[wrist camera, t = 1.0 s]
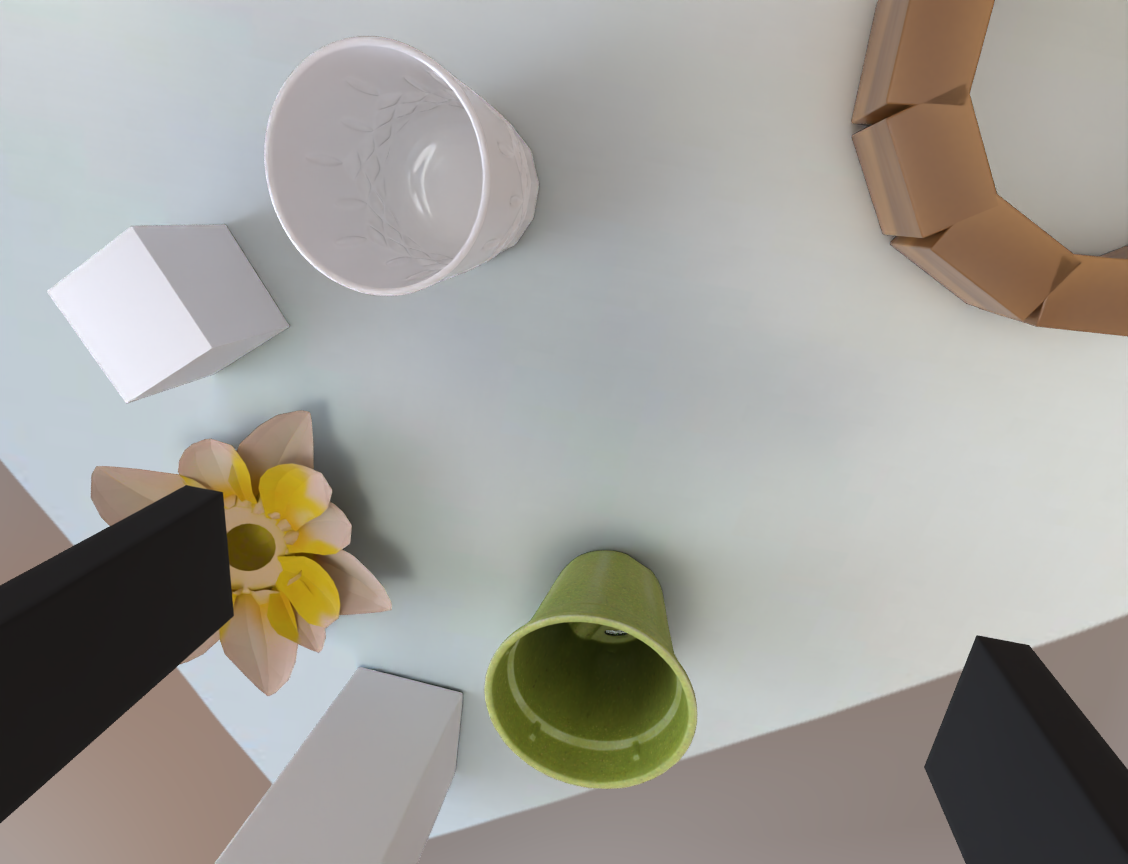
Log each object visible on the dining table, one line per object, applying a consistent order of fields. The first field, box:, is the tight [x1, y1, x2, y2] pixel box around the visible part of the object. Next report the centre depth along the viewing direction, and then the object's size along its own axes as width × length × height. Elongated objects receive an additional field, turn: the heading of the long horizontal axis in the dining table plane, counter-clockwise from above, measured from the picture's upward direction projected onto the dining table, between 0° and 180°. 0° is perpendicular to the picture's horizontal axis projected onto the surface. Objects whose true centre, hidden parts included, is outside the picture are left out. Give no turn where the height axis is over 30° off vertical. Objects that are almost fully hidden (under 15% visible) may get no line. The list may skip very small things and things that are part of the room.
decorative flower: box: [91, 410, 392, 696], centre depth 34 cm, size 15×11×10 cm
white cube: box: [47, 224, 290, 404], centre depth 32 cm, size 6×6×6 cm
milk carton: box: [214, 667, 463, 864], centre depth 33 cm, size 7×7×19 cm
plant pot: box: [484, 550, 697, 789], centre depth 32 cm, size 9×9×9 cm
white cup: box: [264, 36, 539, 296], centre depth 25 cm, size 8×8×10 cm
